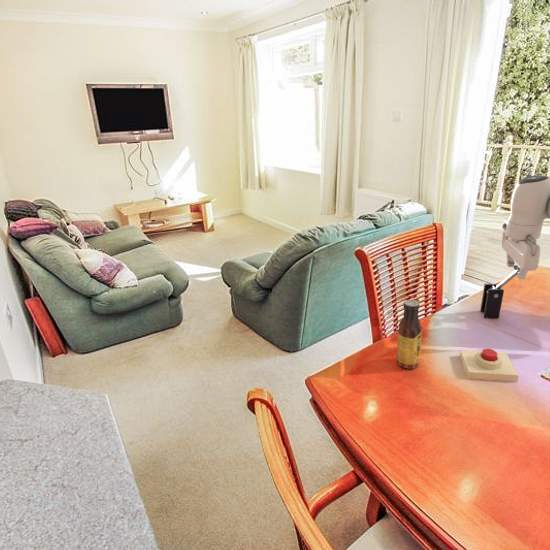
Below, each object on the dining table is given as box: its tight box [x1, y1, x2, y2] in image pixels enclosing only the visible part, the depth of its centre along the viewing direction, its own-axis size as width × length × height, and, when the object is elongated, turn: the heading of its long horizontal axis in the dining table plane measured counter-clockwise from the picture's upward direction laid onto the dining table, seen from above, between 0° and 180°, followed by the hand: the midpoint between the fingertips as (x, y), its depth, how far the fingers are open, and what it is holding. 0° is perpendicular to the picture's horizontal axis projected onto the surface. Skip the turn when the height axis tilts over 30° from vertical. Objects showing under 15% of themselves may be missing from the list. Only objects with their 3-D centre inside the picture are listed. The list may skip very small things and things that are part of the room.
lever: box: [487, 264, 520, 293], centre depth 121 cm, size 12×5×2 cm
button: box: [481, 348, 498, 361], centre depth 102 cm, size 4×4×2 cm
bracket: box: [479, 282, 505, 320], centre depth 125 cm, size 12×9×12 cm
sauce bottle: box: [396, 299, 423, 370], centre depth 105 cm, size 6×6×20 cm
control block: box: [459, 349, 520, 383], centre depth 103 cm, size 12×10×4 cm
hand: (515, 272), depth 119 cm, fingers open, 8 cm apart
